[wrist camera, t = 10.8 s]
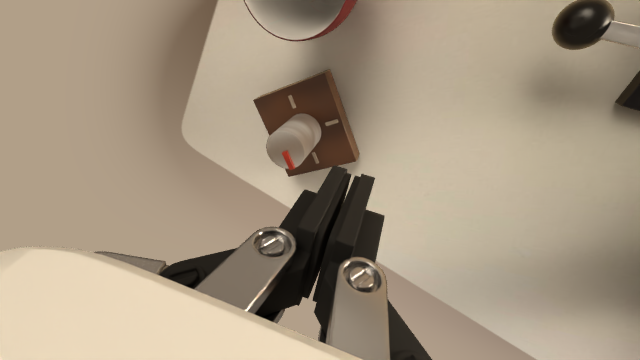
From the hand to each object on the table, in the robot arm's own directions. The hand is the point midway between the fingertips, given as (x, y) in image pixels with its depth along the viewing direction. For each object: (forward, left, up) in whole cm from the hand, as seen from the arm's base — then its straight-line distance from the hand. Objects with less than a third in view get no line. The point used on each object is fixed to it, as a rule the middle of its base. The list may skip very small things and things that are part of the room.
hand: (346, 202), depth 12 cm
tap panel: (+1, -11, -22) cm, 24 cm away
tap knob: (+1, -11, -20) cm, 23 cm away
